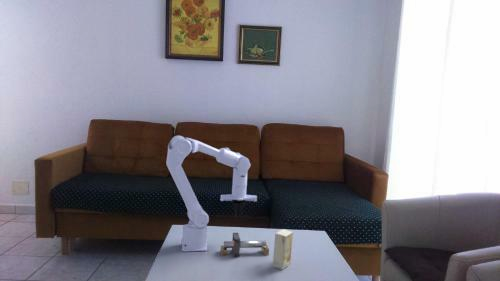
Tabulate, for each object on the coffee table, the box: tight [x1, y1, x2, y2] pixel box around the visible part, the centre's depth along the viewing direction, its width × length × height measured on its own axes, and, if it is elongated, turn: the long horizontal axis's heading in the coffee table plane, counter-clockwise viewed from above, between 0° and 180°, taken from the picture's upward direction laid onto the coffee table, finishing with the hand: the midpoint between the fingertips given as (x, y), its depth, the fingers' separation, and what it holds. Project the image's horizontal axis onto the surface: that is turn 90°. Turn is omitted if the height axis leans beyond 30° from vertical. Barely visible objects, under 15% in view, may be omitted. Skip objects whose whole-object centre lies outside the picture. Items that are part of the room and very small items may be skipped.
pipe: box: [220, 240, 270, 257], centre depth 133 cm, size 18×4×5 cm, turn 100°
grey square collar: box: [231, 232, 241, 258], centre depth 132 cm, size 2×6×7 cm, turn 10°
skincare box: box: [272, 228, 294, 270], centre depth 125 cm, size 6×4×12 cm
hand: (237, 217), depth 141 cm, fingers closed
